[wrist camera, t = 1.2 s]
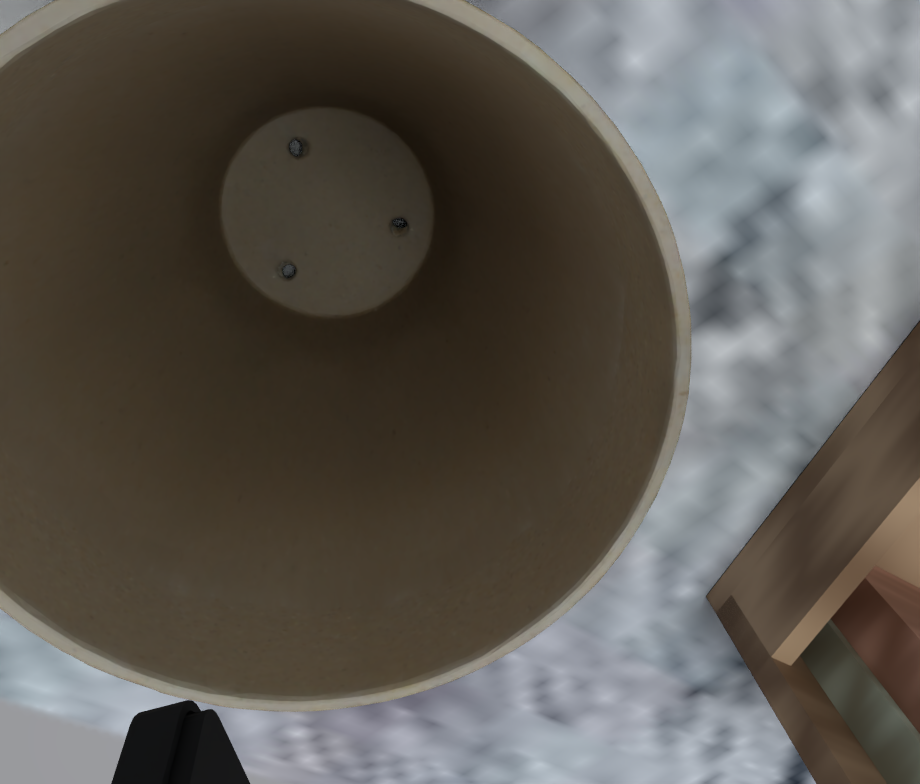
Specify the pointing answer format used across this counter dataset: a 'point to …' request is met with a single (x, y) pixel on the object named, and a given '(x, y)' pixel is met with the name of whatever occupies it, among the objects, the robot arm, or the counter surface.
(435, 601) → the plant pot
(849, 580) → the rack
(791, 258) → the counter surface
